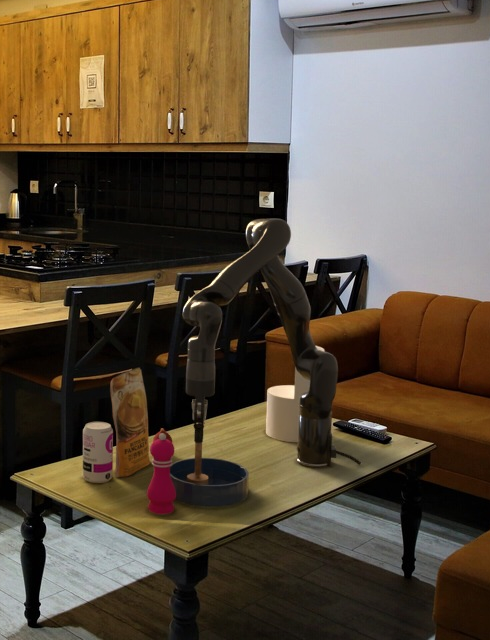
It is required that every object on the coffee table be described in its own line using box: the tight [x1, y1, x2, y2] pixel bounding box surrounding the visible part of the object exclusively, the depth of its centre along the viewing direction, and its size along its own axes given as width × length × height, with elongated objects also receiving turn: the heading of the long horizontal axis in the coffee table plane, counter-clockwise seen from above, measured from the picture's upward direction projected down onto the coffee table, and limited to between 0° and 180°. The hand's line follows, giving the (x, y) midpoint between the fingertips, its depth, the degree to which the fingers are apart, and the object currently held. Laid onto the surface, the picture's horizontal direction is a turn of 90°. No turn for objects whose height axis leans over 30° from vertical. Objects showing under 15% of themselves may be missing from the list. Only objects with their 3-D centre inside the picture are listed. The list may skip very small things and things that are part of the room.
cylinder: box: [265, 345, 326, 443], centre depth 281 cm, size 17×17×28 cm
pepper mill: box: [146, 433, 176, 515], centre depth 218 cm, size 7×7×20 cm
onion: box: [152, 428, 174, 444], centre depth 261 cm, size 6×6×8 cm
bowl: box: [170, 457, 250, 508], centre depth 231 cm, size 21×21×6 cm
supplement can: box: [82, 421, 114, 484], centre depth 240 cm, size 8×8×15 cm
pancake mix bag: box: [109, 367, 151, 478], centre depth 247 cm, size 7×19×28 cm, turn 145°
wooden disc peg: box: [187, 423, 208, 485], centre depth 231 cm, size 6×6×17 cm
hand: (198, 440), depth 231 cm, fingers closed on wooden disc peg
